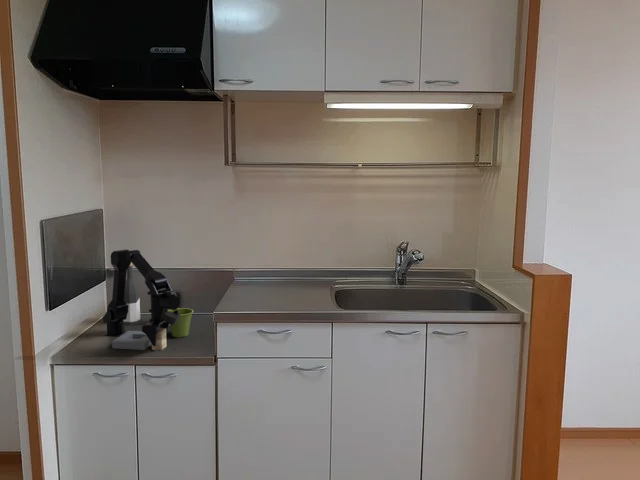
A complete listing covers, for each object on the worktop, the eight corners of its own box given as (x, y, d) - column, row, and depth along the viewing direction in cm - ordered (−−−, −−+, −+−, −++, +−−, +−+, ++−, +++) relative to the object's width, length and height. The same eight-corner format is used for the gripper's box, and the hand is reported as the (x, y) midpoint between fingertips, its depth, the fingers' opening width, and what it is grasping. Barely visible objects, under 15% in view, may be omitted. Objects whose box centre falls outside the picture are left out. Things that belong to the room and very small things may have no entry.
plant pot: (194, 338, 209) (194, 314, 207) (166, 340, 205) (166, 315, 204) (193, 330, 220) (192, 307, 218) (166, 332, 216) (166, 308, 215)
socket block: (112, 348, 195) (112, 341, 195) (129, 337, 209) (128, 330, 209) (144, 349, 194) (144, 342, 194) (159, 338, 208) (158, 332, 207)
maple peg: (151, 349, 194) (151, 331, 193) (156, 345, 199) (156, 327, 198) (162, 350, 194) (161, 331, 193) (166, 346, 198) (166, 328, 197)
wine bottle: (124, 320, 232) (121, 261, 229) (141, 319, 234) (139, 261, 231) (121, 325, 225) (119, 264, 221) (139, 324, 227) (137, 264, 223)
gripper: (167, 313, 184) (168, 351, 186) (185, 301, 203) (186, 335, 205) (140, 311, 185) (141, 349, 187) (160, 300, 204) (161, 334, 206)
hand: (159, 342), depth 196 cm, fingers open, 9 cm apart
